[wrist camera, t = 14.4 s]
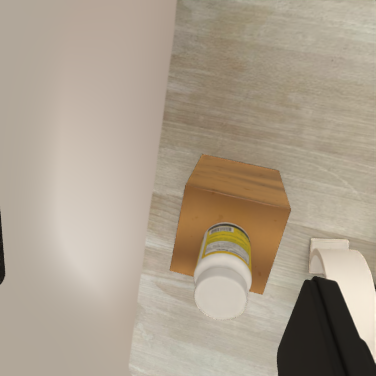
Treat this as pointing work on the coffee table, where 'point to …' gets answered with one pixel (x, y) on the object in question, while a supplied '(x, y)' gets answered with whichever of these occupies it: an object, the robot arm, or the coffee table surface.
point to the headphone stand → (347, 280)
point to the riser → (232, 213)
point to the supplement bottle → (223, 272)
